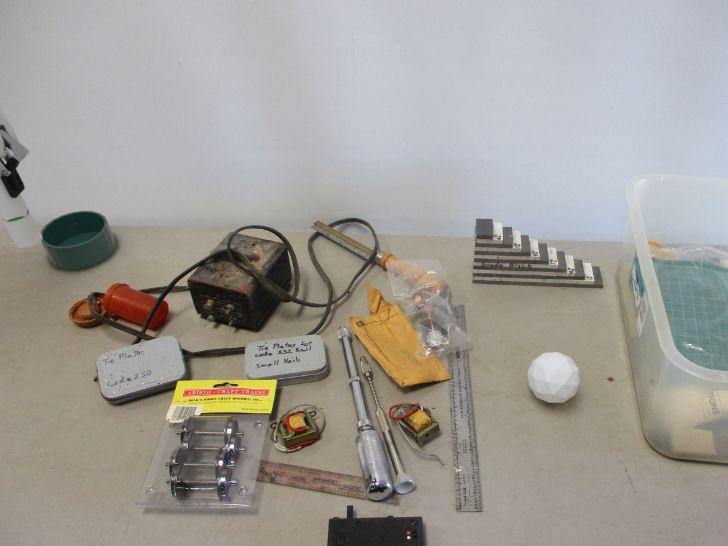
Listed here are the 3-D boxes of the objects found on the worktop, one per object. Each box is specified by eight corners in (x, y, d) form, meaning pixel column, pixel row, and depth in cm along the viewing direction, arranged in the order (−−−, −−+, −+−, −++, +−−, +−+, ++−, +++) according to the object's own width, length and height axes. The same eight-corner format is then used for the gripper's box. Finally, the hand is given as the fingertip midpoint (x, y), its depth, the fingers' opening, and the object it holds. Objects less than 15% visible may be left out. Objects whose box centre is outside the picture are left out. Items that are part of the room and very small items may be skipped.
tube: (9, 245, 99) (-36, 167, 89) (26, 230, 102) (-15, 153, 92) (31, 249, 99) (-12, 171, 88) (47, 234, 102) (8, 157, 91)
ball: (538, 410, 93) (515, 392, 88) (544, 364, 97) (523, 344, 91) (585, 412, 89) (564, 393, 83) (589, 363, 92) (570, 341, 87)
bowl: (39, 269, 113) (27, 246, 109) (68, 231, 122) (57, 209, 118) (101, 271, 113) (91, 249, 109) (125, 233, 122) (116, 211, 118)
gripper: (16, 70, 84) (65, 181, 96) (-99, 68, 84) (-35, 178, 97) (-13, 93, 78) (43, 207, 91) (-136, 90, 79) (-63, 204, 91)
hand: (2, 191), depth 94 cm, fingers closed on tube, 4 cm apart
